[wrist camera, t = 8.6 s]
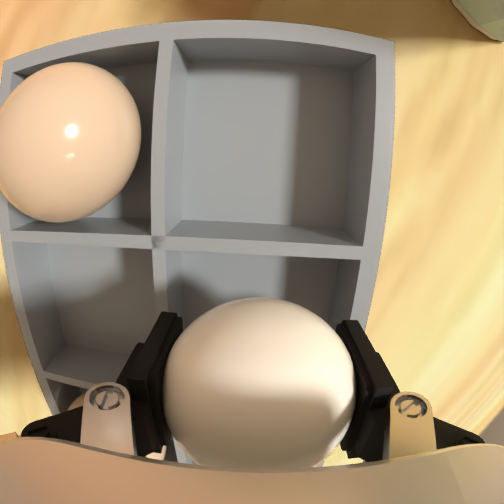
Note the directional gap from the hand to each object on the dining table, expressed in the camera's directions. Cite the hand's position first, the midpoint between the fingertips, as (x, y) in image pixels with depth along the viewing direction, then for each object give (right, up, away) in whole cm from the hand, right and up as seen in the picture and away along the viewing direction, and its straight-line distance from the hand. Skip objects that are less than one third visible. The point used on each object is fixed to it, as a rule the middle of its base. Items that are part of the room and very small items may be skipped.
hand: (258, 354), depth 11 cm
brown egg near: (-7, +9, +1) cm, 11 cm away
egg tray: (-4, +2, +4) cm, 6 cm away
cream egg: (0, 0, +1) cm, 1 cm away
